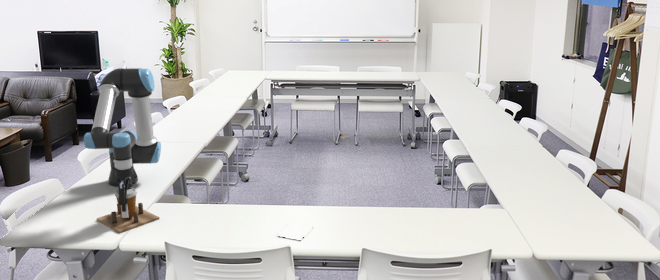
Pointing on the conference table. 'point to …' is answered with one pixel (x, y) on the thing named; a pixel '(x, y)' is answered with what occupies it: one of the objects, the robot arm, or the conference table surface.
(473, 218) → the conference table surface
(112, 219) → the holder
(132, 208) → the disposable coffee cup
